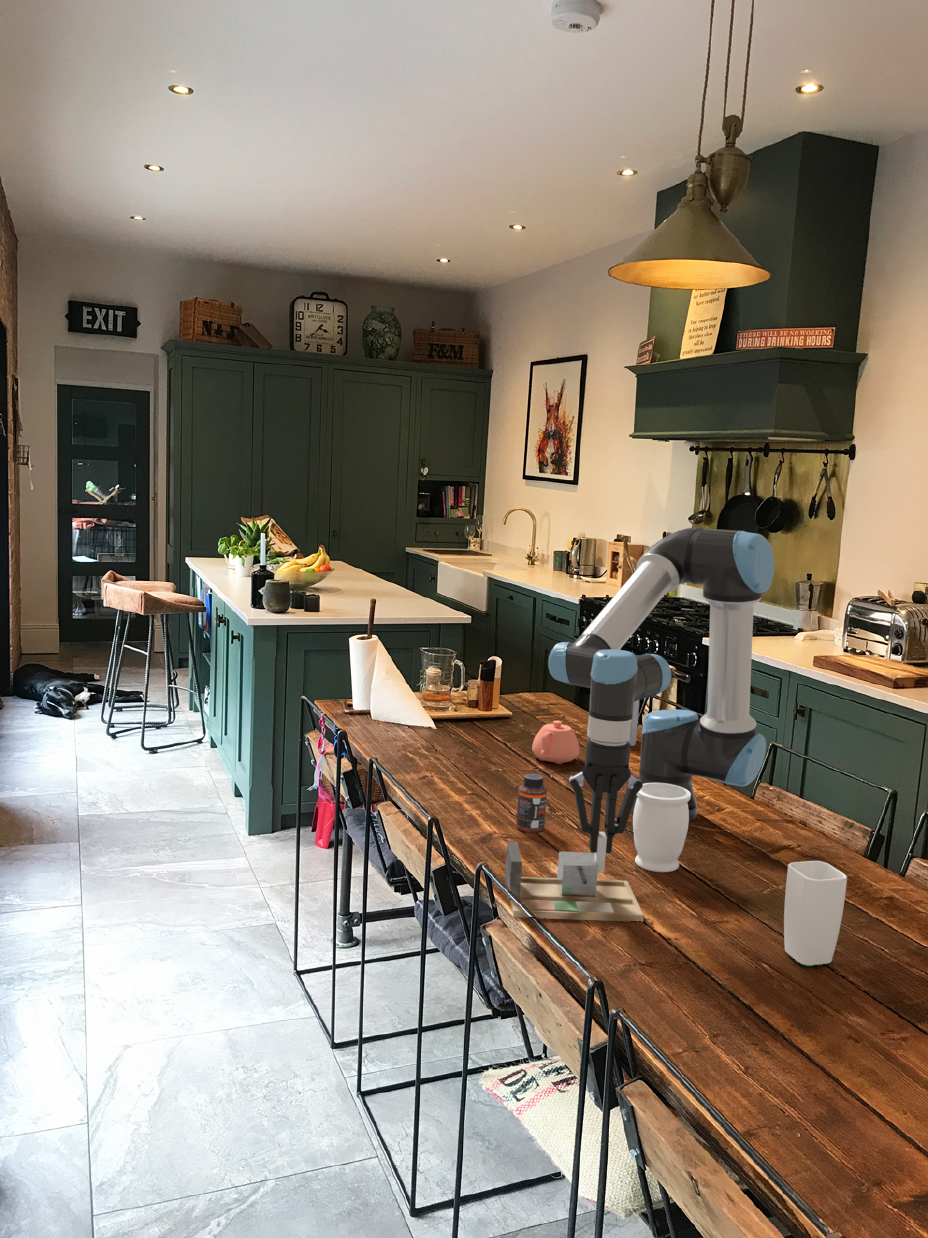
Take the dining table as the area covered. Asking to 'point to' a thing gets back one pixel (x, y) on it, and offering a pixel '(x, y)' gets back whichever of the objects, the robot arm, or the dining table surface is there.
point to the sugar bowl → (556, 743)
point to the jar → (660, 825)
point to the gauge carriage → (577, 874)
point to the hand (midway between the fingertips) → (598, 869)
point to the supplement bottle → (531, 804)
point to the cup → (813, 911)
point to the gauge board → (548, 903)
